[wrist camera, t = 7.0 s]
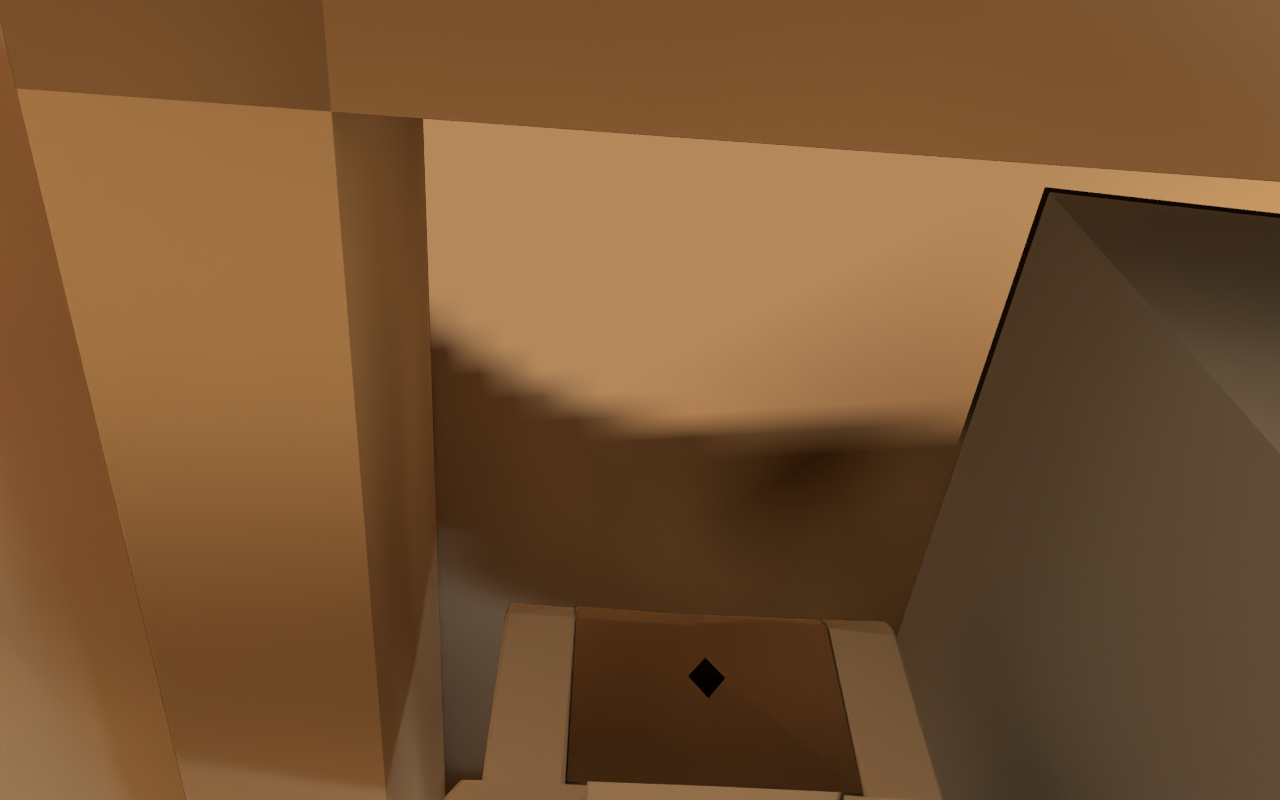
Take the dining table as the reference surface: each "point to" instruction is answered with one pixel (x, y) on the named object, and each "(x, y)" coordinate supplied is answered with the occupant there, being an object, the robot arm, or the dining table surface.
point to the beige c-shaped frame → (398, 274)
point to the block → (1114, 519)
